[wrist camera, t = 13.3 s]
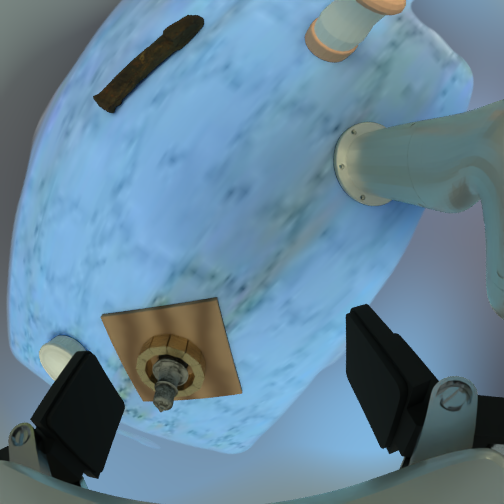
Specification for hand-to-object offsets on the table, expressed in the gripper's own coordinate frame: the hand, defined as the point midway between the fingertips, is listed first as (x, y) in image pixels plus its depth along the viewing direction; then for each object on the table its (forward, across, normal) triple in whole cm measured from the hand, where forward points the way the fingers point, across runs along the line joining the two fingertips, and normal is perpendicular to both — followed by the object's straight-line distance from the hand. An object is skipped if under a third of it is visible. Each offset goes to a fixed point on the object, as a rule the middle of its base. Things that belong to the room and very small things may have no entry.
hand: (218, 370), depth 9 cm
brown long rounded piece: (+30, +7, -26) cm, 40 cm away
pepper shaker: (+30, -19, -24) cm, 43 cm away
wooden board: (+29, +15, +21) cm, 39 cm away
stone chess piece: (+28, +15, +21) cm, 38 cm away
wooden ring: (+29, +15, +21) cm, 39 cm away
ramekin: (+29, +37, +18) cm, 50 cm away
